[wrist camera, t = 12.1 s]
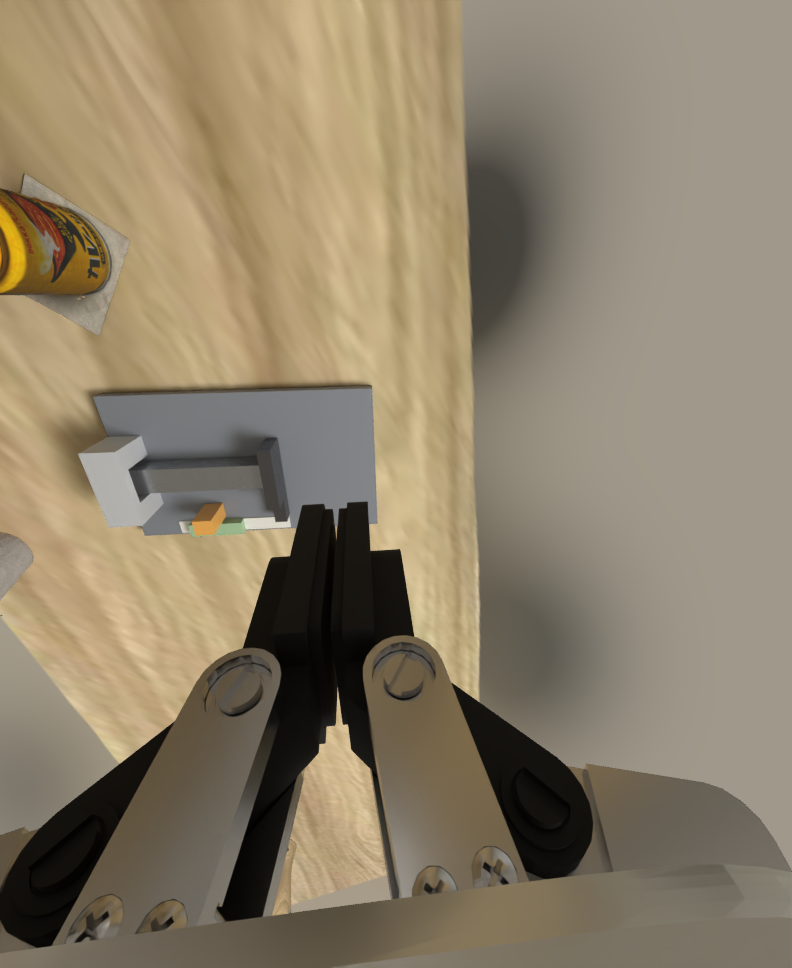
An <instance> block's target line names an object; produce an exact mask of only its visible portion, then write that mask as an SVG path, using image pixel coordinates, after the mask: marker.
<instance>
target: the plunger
mask: <svg viewBox="0 0 792 968" xmlns="http://www.w3.org/2000/svg"><path fill="white" fill-rule="evenodd" d="M256 454H257V456H245V457H221V458H196V459H171V460H146V461H139V462H138V463H136V464H135V465H134V466H132V467H131V468H130V469H128V471H129V474H130V476H131V479H132V482H133V485H134V487H135V490H136V493H137V494H148V493H170V492H192V491H214V490H236V489H257V488H263V491H264V496H265V501H266V506H267V510H273V511H274V517H275V522H287V521H288V518H289V515H290V511H289V505H288V499H287V492H286V486H285V480H284V474H283V468H282V462H281V455H280V449H279V443H278V438H265V439H264V441H263V442H262V444H261V445H260V447H259V448H258V450H257V451H256Z"/></svg>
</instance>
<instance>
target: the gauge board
mask: <svg viewBox="0 0 792 968" xmlns="http://www.w3.org/2000/svg"><path fill="white" fill-rule="evenodd" d="M93 399H94V401H95V404H96V407H97V409H98V412H99V415H100V417H101V420H102V423H103V425H104V428H105V431H106V433H107V436H108V437H107V438H105V439H103V440H101V441H100V442H98V443H96V444H94V445H92V446H91V447H89V448H87V449H85V450H83V451H82V452H80V453H78V455H79V458H80V460H81V463H82V465H83V467H84V470H85V472H86V474H87V477H88V479H89V481H90V484H91V486H92V489H93V491H94V493H95V496H96V498H97V500H98V503H99V505H100V507H101V510H102V512H103V515H104V517H105V519H106V522H107V524H108V526H109V527H129V526H142V529H143V532H144V534H145V536H149V535H168V534H187V533H191V536H192V537H197V536H196V535H195V532H194V528H193V525H192V521H193V519H194V518H195V517H196V515H197V514H198V513H199V511H200V510H201V509H202V507H203V506H204V505H205V504H211V503H223V505H224V509H225V513H226V517H225V519H224V520H223V522H222V524H221V525H220V527H219V528H218V530H217V532H216V533H215V535H234V534H244V533H245V531H246V530H263V529H282V528H297V525H298V520H299V516H300V512H301V508H302V505H311V504H324V505H325V509H333V513H334V523H335V526H338V514H339V508H347V502H366V501H368V516H369V524H376V523H377V500H376V476H375V451H374V426H373V401H372V386H342V387H308V388H273V389H238V390H204V391H169V392H135V393H101V394H98V395H96V396H93ZM265 438H278V443H279V449H280V455H281V462H282V468H283V474H284V480H285V486H286V492H287V499H288V505H289V511H290V515H289V518H288V521H287V522H275V517H274V511H273V510H267V506H266V501H265V496H264V491H263V488H257V489H236V490H214V491H192V492H170V493H148V494H137V493H136V490H135V487H134V485H133V482H132V479H131V476H130V474H129V471H128V469H130V468H131V467H132V466H134V465H135V464H136V463H138V462H139V461H146V460H171V459H196V458H221V457H245V456H257V454H256V451H257V450H258V448H259V447H260V445H261V444H262V442H263V441H264V439H265ZM215 535H199V536H215Z"/></svg>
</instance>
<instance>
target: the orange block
mask: <svg viewBox="0 0 792 968" xmlns="http://www.w3.org/2000/svg"><path fill="white" fill-rule="evenodd" d="M225 517H226V513H225V509H224V505H223V503H211V504H205V505H204V506H203V507H202V509H201V510H200V511H199V513H198V514H197V515H196V517H195V518H194V519H193V521H192V525H193V528H194V532H195V535H196V536H199V535H215V533H216V532H217V530H218V528H219V527H220V525H221V524H222V522H223V520H224V519H225Z"/></svg>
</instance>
